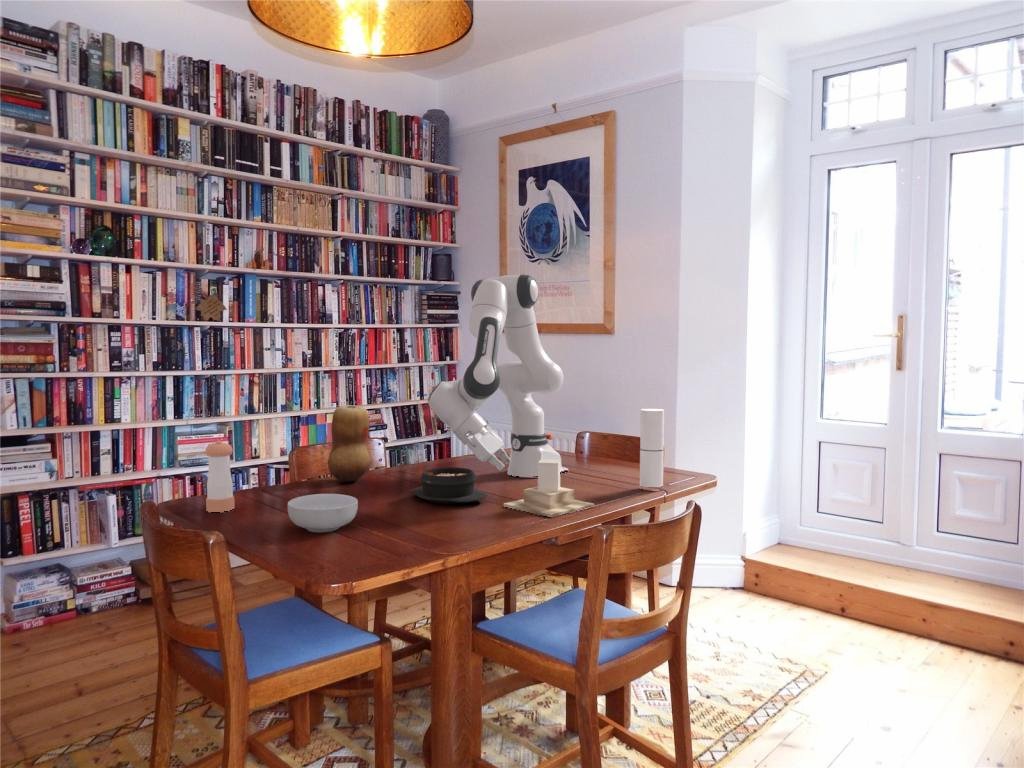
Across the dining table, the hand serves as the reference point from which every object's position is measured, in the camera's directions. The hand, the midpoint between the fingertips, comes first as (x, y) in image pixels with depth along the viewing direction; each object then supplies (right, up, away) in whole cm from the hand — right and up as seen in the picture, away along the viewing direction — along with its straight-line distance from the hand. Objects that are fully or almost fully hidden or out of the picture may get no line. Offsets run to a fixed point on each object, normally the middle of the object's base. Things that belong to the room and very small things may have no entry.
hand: (506, 465), depth 210 cm
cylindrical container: (+45, -10, +23) cm, 52 cm away
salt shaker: (-79, -12, -5) cm, 80 cm away
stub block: (+12, -12, -1) cm, 17 cm away
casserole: (-17, -11, +8) cm, 22 cm away
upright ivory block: (+12, -7, -2) cm, 14 cm away
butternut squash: (-52, -9, +34) cm, 62 cm away
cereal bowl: (-45, -13, -24) cm, 53 cm away
